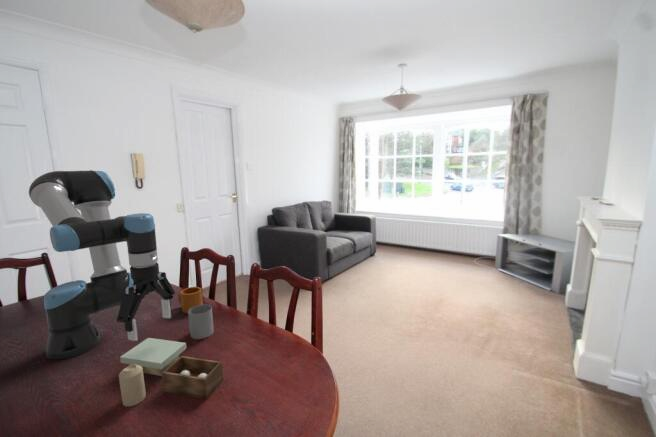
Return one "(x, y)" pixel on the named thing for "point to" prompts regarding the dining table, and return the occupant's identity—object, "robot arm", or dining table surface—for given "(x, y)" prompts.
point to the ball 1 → (186, 373)
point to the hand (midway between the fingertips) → (151, 327)
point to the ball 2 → (202, 375)
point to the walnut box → (193, 377)
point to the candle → (132, 385)
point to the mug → (190, 298)
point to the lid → (153, 353)
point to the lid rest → (158, 371)
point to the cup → (200, 321)
